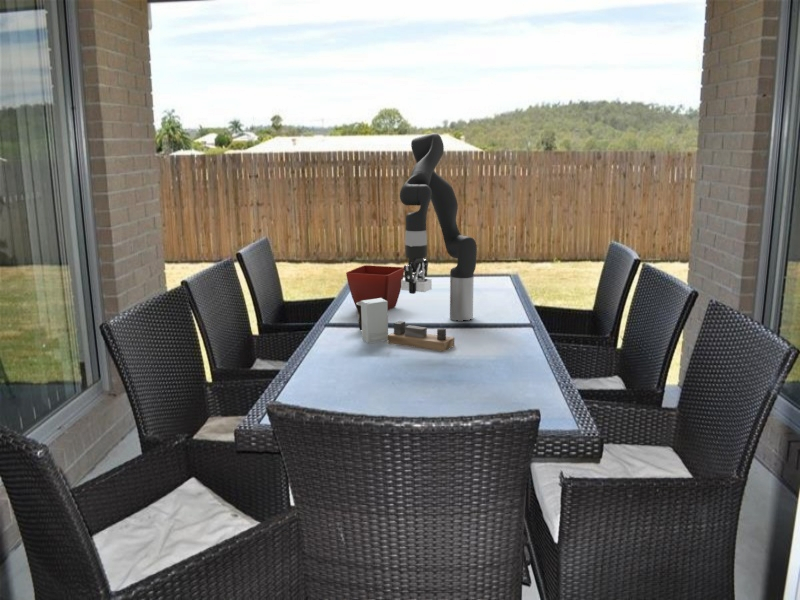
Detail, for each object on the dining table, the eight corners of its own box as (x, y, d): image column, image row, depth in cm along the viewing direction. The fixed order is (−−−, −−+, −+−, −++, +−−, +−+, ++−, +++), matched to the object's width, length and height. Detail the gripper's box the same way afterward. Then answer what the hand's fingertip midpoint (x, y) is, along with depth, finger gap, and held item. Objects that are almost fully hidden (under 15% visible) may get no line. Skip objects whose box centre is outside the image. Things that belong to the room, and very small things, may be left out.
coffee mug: (376, 332, 278) (376, 306, 276) (354, 331, 280) (353, 305, 278) (383, 324, 289) (383, 299, 287) (361, 323, 291) (361, 298, 289)
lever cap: (408, 286, 263) (408, 277, 262) (431, 289, 259) (431, 279, 258) (401, 289, 258) (401, 279, 258) (424, 292, 254) (424, 282, 253)
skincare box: (382, 337, 272) (381, 297, 269) (389, 341, 267) (388, 300, 263) (360, 339, 268) (360, 299, 265) (367, 344, 263) (366, 302, 260)
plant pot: (345, 311, 311) (345, 272, 307) (365, 302, 328) (364, 264, 324) (388, 315, 304) (387, 275, 300) (405, 305, 321) (405, 267, 317)
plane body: (399, 337, 271) (398, 319, 269) (454, 345, 260) (454, 326, 259) (388, 343, 264) (387, 324, 262) (444, 351, 253) (444, 331, 252)
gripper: (416, 240, 263) (416, 286, 267) (396, 245, 251) (396, 294, 254) (435, 241, 259) (435, 288, 263) (416, 247, 247) (416, 296, 251)
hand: (416, 291), depth 259 cm, fingers closed on lever cap, 5 cm apart
